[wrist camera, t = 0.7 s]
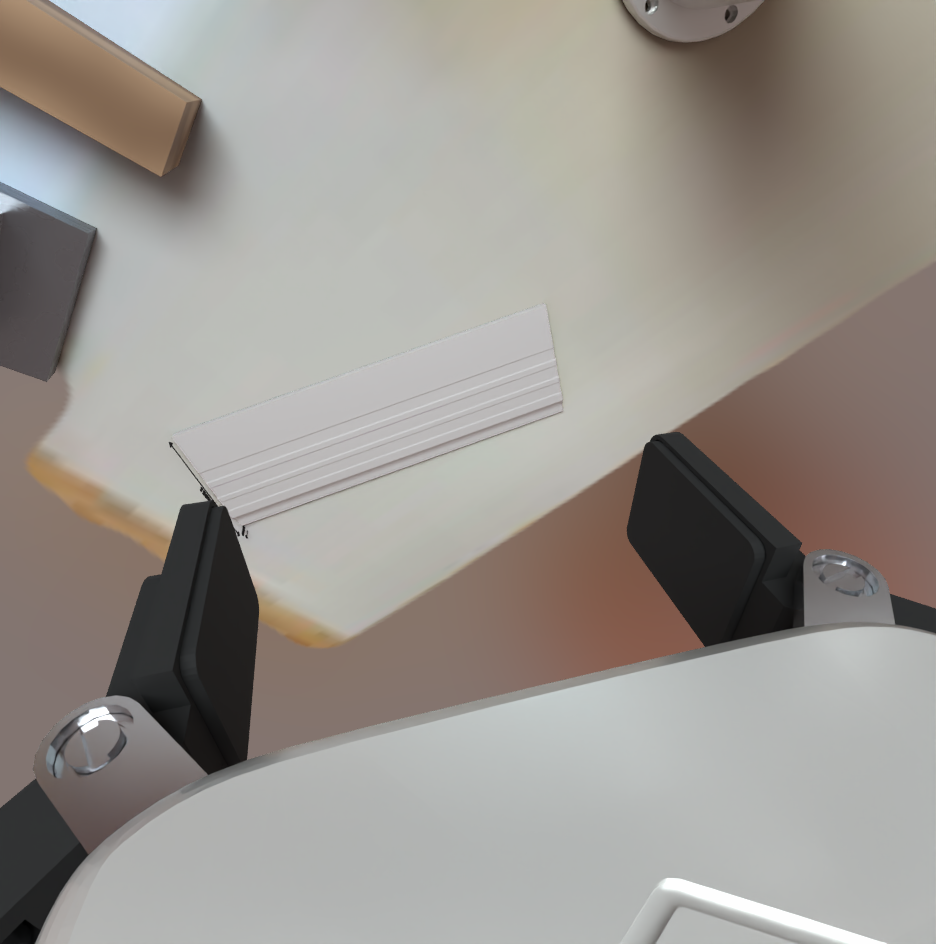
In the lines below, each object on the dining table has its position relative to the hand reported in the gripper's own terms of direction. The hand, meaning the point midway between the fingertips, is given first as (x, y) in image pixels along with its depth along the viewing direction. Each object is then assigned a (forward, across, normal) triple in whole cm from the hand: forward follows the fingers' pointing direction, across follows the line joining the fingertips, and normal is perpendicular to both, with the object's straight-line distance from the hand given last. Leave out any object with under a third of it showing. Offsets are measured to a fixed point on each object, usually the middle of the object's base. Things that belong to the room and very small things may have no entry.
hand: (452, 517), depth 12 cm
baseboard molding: (+33, -1, +16) cm, 36 cm away
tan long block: (+32, +15, -10) cm, 37 cm away
